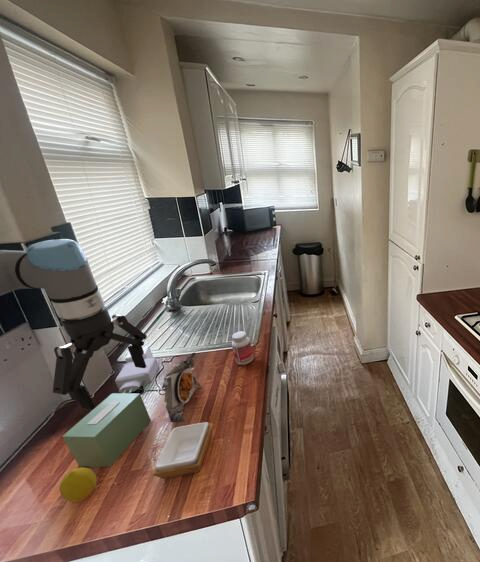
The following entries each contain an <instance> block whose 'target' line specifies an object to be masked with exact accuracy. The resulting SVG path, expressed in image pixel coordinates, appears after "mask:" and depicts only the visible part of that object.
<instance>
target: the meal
mask: <svg viewBox="0 0 480 562" xmlns="http://www.w3.org/2000/svg"><path fill="white" fill-rule="evenodd" d="M195 356H196V352H192V353H191V354H190V355H189V356H187V358H185V359H181V361H180V362H177V363H176V364H175V365H174V366H173V367H171V370H170V371H169V372H168V373H167V374H165V376H164V378H163V383H162V387H161V389H162V391H164V399H163V402H165V403H166V404H165V410H166V411H167V414H168V416H169V417H168V418H169V421H170V422H171V423H174V424H175V423H176V424H177V423H181V422H186V419H185V418H184V417H183V416H182V415H183V414H184V413H185V410H184V405H185V404H187V403H188V402H190V399H191V398H192V396H193V395H194V390H196V389H198V388H199V387H202V385H201V383H200V381H199V382H198V380H197V377H196V376H195V375H193V370H192V368H193V366H194V364H195V362H194V357H195Z"/></svg>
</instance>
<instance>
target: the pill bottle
mask: <svg viewBox="0 0 480 562" xmlns="http://www.w3.org/2000/svg"><path fill="white" fill-rule="evenodd" d="M231 338H232V341H231V348H232V352H233V357H234V361H235V363H236V364H237V365H239V366H245V365H248V364H250V363H251V362H253V360H254V352H253V348H252V343H251V340H250V338H249V337H248V335H247V332H246V331H244V330H243V331H237V332H235V333H233V334H232V335H231Z"/></svg>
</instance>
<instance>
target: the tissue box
mask: <svg viewBox="0 0 480 562" xmlns="http://www.w3.org/2000/svg"><path fill="white" fill-rule="evenodd" d="M151 422H152V420H151V417H150V415H149V412H148V410H147V407H146V405H145V402H144V400H143V397H142V395H141V393H120V392H118V393H117V392H115V393H114V392H113V393H110V394H109V395H108V396H107V397H106V398H105V399H104V400H102V401H101V402H100V403H99V404H98V405H97V406H95V408H94V409H93V410H91V411H90V412H88V413H87V414H86V415H85V416H84V417H83V418H82V419H80V420H79V421H78V422H77V423H76V424H74V425H73V427H71V428H69V430H68V431H66V432H65V433H64V434H63V435H62V436H61V437H62V439H63V441H64V443H65V445H66V446H67V448H68V450H69V451H70V453H71V456H72V457H73V459H74V460H75V462H76V464H77V465H78V467H94V468H96V467H97V468H111V467H112V465H114V463H115V462H116V461H117V460H118V459H119V458H120V457H121V455H122V454H123V453H124V452H125V451H126V450H127V449H128V448H129V446H131V444H132V443H133V442H134V441H135V440H136V439H137V438H138V436H140V434H142V432H143V431H144V430H145V428H146V427H147V426H148V425H149V424H150V423H151Z"/></svg>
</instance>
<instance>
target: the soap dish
mask: <svg viewBox="0 0 480 562" xmlns="http://www.w3.org/2000/svg"><path fill="white" fill-rule="evenodd" d="M213 426H214V423H213V422H211V423H209V422H207V421H203V422H198V423H193V424H192V423H191V424H187V425H181V426H177V427H174V428H173V429H172V430H171V431H170V433H169V435H168V437H167V439H166V441H165V443H164V445H163V447H162V449H161V452H160V454H159V455H158V458H157V460H156V462H155V465H154V468H153V470H152V473H151V475H152V476H153V477H157V478H159V479H163V480H164V479H169V478H174V477H179V476H184V475H189V474H194V473H200V471H201V467H202V465H203V461H204V459H205V455H206V452H207V449H208V447H209V443H210V440H211V437H212V432H213Z"/></svg>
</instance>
